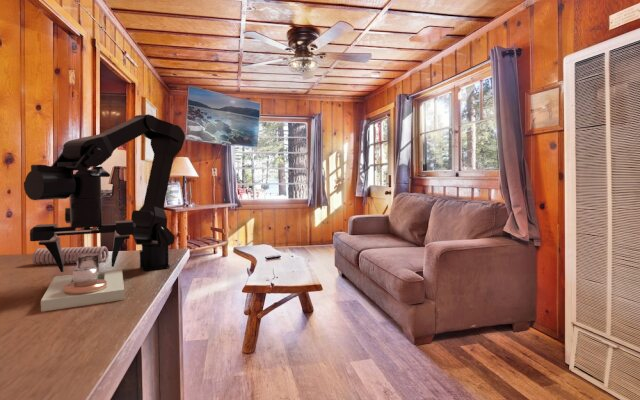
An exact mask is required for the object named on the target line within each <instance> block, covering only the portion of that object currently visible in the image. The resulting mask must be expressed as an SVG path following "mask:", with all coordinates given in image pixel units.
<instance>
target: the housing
mask: <svg viewBox="0 0 640 400" xmlns="http://www.w3.org/2000/svg"><path fill="white" fill-rule="evenodd" d="M99 279H102V280H106V283H107V287H106V288H105V289H103V290H101V291H98V292H94V293H89V294H82V295H68V294H65V293H64V286H65V285H67V284H69V283H73V274H68V275H67V274H66V275H57V276H54V277H53V279H52V280H51V282H50V284H49V286H48V288H47V290H46V291H45V293H44V295H43V296H42V298H41V300H40V312H48V311H55V310H62V309H69V308H76V307H81V306H90V305H96V304H104V303H110V302H116V301H123V300H125V286H124V275H123V269H121V268H120V269H113V270H104V271H99Z"/></svg>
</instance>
